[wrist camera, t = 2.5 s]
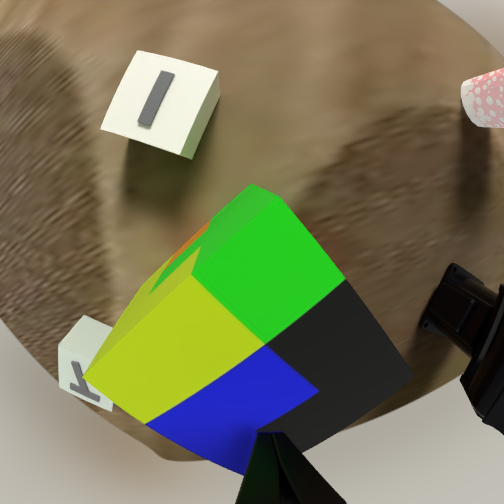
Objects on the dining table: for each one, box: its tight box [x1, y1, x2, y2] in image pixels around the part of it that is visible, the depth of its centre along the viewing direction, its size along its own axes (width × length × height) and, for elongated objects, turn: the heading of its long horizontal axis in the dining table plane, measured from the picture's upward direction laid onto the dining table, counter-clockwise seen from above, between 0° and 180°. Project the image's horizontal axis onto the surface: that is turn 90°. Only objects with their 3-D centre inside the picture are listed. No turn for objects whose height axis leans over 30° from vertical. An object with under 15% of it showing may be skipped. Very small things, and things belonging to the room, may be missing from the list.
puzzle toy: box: [82, 184, 414, 476], centre depth 14 cm, size 10×10×10 cm
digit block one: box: [101, 51, 221, 160], centre depth 13 cm, size 4×4×5 cm
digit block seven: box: [58, 315, 115, 412], centre depth 17 cm, size 4×4×5 cm
